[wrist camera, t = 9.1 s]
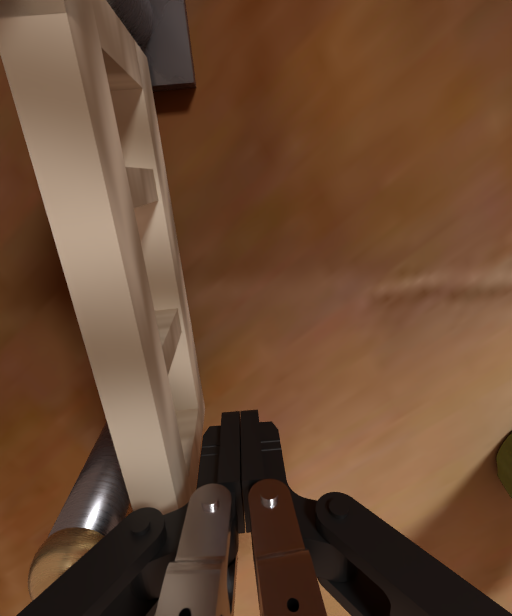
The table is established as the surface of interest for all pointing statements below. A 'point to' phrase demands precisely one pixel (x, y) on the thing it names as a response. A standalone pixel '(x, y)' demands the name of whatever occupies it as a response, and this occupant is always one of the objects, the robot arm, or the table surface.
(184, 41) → the hinge post
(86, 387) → the table surface
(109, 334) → the gate
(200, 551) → the robot arm
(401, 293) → the table surface
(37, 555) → the latch post
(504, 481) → the plant pot
